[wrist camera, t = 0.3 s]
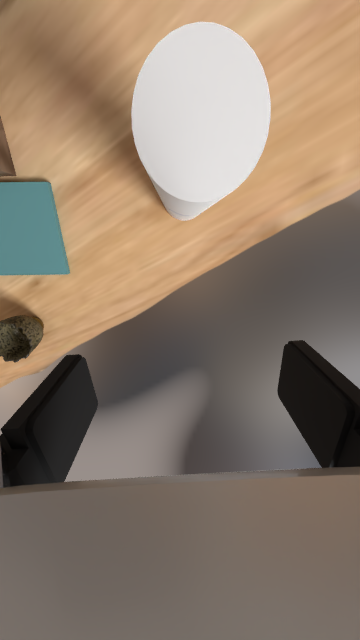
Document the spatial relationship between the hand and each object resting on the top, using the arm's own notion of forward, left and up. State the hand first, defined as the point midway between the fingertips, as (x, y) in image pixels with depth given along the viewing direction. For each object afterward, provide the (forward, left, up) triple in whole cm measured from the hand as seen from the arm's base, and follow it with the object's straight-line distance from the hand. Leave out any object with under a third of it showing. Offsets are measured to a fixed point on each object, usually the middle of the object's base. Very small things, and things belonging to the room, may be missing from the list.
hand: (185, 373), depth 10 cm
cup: (+11, -29, -31) cm, 44 cm away
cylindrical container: (-11, +1, -31) cm, 33 cm away
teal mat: (-6, -27, -31) cm, 41 cm away
